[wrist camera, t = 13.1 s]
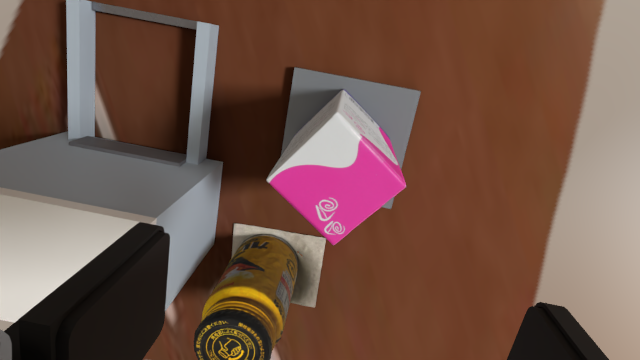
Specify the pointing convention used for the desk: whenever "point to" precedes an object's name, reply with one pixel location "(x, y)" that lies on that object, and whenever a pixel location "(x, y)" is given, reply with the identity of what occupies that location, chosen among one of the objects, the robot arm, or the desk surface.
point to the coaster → (375, 98)
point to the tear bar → (144, 15)
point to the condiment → (258, 293)
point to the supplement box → (338, 168)
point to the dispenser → (103, 184)
